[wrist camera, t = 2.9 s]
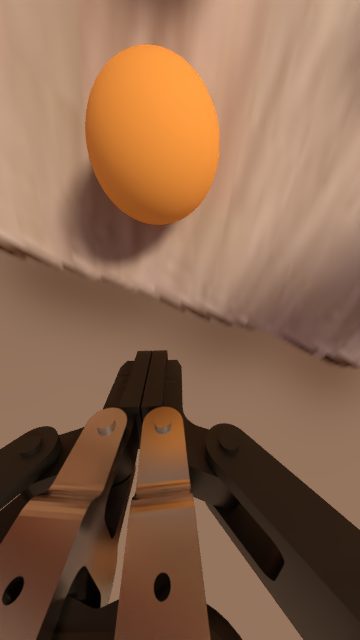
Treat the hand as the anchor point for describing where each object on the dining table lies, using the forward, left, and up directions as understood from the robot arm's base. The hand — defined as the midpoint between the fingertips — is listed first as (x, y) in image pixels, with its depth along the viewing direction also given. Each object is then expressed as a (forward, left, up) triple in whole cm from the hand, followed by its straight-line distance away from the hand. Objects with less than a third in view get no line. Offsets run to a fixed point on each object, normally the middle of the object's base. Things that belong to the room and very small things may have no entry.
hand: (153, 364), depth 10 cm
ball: (0, -10, -3) cm, 10 cm away
